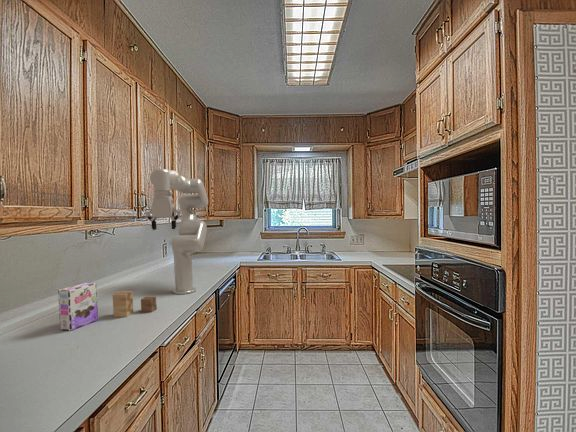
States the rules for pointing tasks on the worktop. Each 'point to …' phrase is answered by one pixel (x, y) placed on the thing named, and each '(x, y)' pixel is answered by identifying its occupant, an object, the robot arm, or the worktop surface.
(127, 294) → the tower top
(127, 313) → the tower base
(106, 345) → the worktop surface
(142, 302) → the walnut cube
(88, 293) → the candy box
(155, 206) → the robot arm
